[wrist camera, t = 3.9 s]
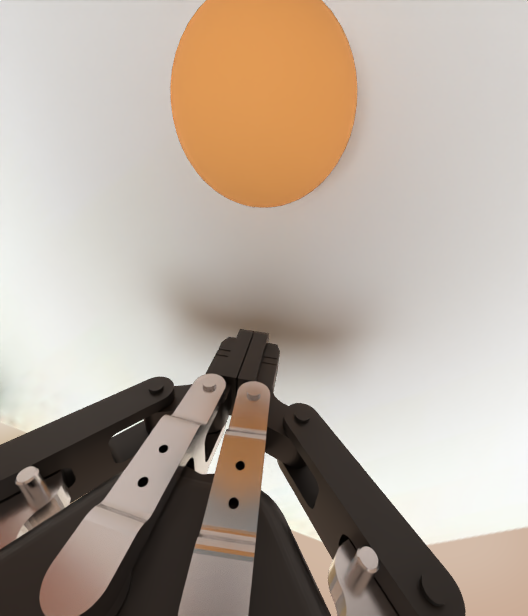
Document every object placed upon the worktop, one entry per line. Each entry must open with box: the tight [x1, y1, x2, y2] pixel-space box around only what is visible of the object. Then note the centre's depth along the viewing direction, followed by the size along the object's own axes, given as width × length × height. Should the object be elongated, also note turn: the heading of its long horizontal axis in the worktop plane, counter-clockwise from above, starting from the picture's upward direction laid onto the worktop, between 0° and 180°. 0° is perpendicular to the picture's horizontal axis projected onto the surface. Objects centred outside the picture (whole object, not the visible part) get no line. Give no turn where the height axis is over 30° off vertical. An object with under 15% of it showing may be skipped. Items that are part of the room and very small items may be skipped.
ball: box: [171, 0, 357, 207], centre depth 9 cm, size 6×6×6 cm
